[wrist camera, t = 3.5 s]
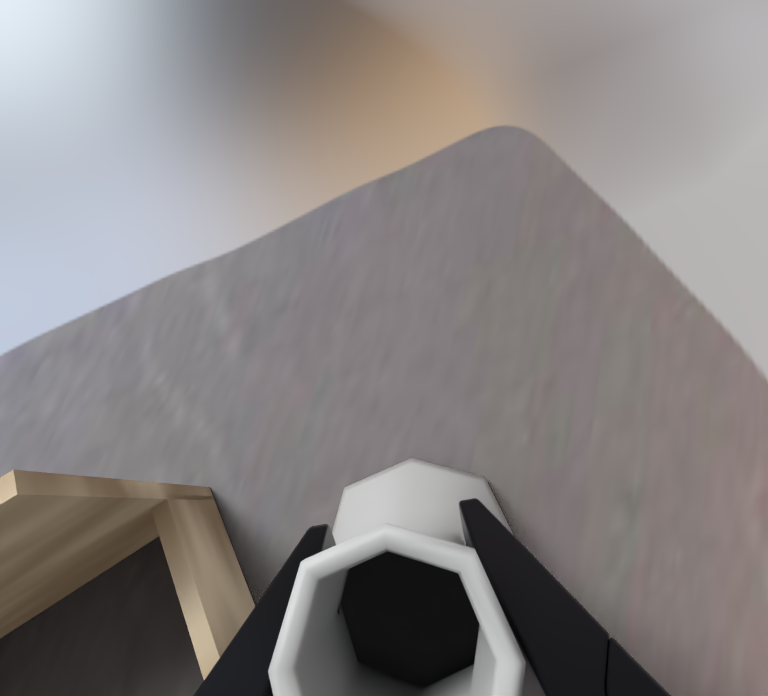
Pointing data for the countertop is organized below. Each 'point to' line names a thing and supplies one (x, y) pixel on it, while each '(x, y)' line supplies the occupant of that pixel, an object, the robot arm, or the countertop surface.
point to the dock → (117, 548)
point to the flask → (399, 597)
